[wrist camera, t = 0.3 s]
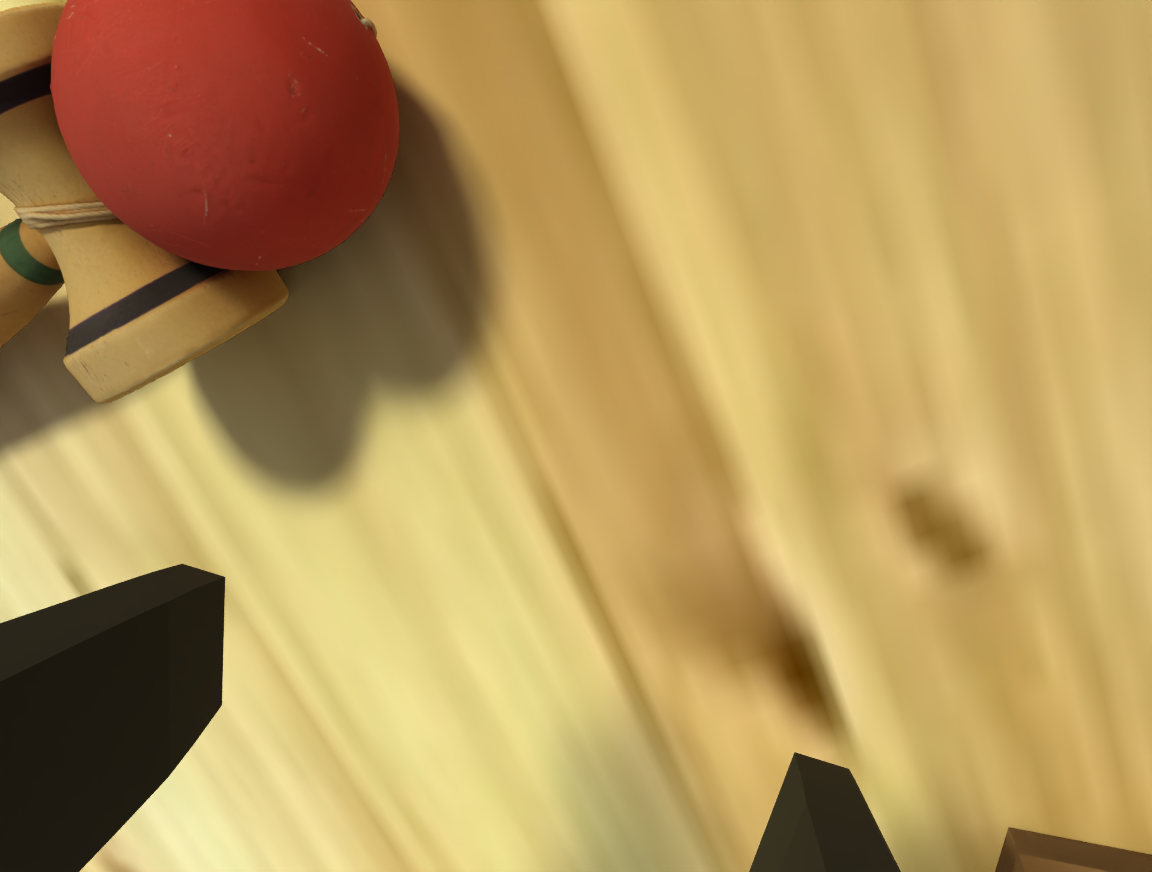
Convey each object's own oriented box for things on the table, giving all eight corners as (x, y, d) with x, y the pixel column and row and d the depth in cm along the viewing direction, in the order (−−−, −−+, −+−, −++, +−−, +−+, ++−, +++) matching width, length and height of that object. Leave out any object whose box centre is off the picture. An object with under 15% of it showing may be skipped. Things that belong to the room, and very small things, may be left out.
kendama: (59, 482, 25) (516, 244, 17) (-197, 552, 19) (299, 245, 11) (-43, 250, 24) (374, -113, 16) (-336, 253, 19) (73, -301, 11)
